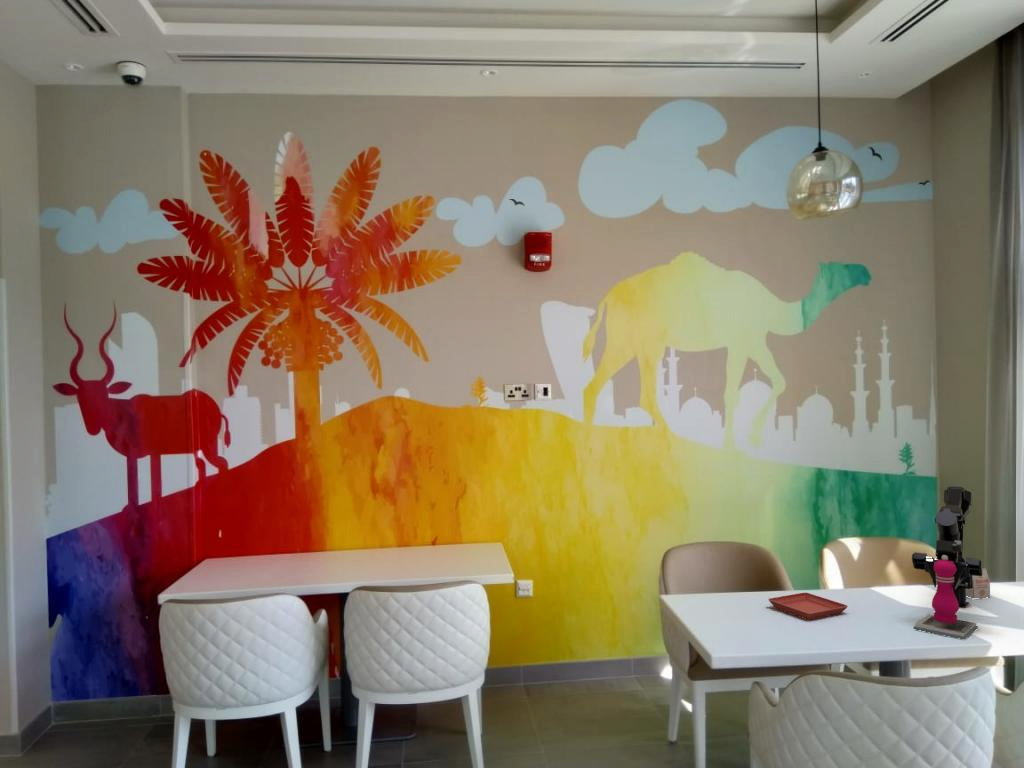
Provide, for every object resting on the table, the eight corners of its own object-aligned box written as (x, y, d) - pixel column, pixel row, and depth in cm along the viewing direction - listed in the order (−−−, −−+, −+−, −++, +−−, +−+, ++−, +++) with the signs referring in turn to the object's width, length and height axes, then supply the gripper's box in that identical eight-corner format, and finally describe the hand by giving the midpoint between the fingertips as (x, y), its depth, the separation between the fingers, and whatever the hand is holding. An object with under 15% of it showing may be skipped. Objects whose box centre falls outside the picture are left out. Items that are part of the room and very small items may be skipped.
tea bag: (965, 596, 271) (964, 568, 271) (981, 595, 272) (981, 567, 272) (973, 599, 268) (972, 570, 268) (990, 598, 269) (989, 569, 269)
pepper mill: (964, 621, 235) (964, 556, 234) (947, 625, 232) (946, 558, 231) (943, 615, 241) (942, 551, 241) (926, 618, 239) (925, 553, 238)
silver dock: (927, 619, 246) (927, 613, 246) (977, 628, 237) (977, 622, 237) (913, 629, 236) (913, 623, 236) (965, 640, 226) (965, 633, 226)
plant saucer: (849, 615, 253) (849, 605, 253) (809, 623, 245) (809, 612, 245) (805, 601, 269) (805, 591, 269) (766, 608, 261) (766, 598, 261)
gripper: (912, 526, 245) (907, 569, 236) (981, 532, 234) (978, 577, 225) (916, 546, 251) (911, 588, 243) (983, 553, 241) (981, 597, 232)
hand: (944, 587), depth 235 cm, fingers closed on pepper mill, 5 cm apart
